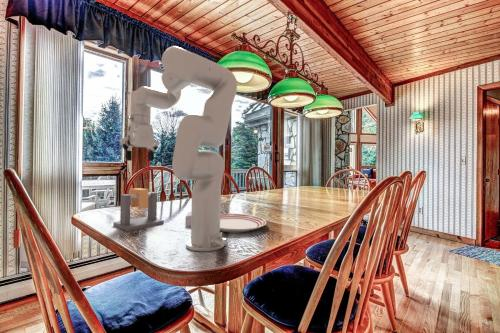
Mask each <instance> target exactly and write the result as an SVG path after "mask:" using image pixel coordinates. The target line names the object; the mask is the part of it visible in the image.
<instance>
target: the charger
mask: <svg viewBox="0 0 500 333" xmlns="http://www.w3.org/2000/svg"><path fill="white" fill-rule="evenodd" d="M191 212H192V211H189V212H187V214H186V215H185V224H184V225H185V227H191Z"/></svg>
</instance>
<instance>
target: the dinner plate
mask: <svg viewBox="0 0 500 333" xmlns="http://www.w3.org/2000/svg"><path fill="white" fill-rule="evenodd" d="M266 225H267V221H266V219H264V218H262V217H259V216H256V215H253V214H252V215H251V214H246V213H244V214H243V213H220V232H225V233H245V232H246V231H247V232H251V231H255V230H257V229H259V228H261V227H264V226H266ZM250 230H251V231H250Z"/></svg>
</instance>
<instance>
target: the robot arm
mask: <svg viewBox="0 0 500 333" xmlns="http://www.w3.org/2000/svg"><path fill="white" fill-rule="evenodd" d="M161 56H162V57H161V66H162V67H163V69H164V71H163V72H162V75H161V81H162V84H163V85H164V88H165V89H166V90H167V91H164V90H161V89H156V88H154V87H153V88H152V87H149V86H144V85H143V86H140V87H139V88H137V90H133V91H131V94H130V116H129V115H128V116H127V120H129V121H130V122H129V124H128V128H127V132H126V134H127V136H125V137H123V138H120V139H118V141H119V144H120V146H121V147H122V149H123V150H124V152H125V159H126V161H127V162H129V161H132V159H133V156H132V153H133V151H132V149H133V148H146V149H147V150H148V153H147V161H148V162H153V161H154V159H155V152H156V150H157V149H158V147H159V145H160V142H159V141H157V140H156V139H155V137H154V129H153V125H152V124H151V108H154V109H159V110H168V109H170V108H172V107H173V106H175V105H176V104H177V103H178V102H179V101H180V98H181V96H182V90H183V89H185V88H186V87H188V86H189V85H191V84H192V85H195V86H198V87H201V88H203V89H204V88H205V89H207V90H210V91H212V92H211V93H210V94H209V95H208V97H207V98H206V100H205V102H204V106H203V107H204V108H203V112H202V114H198V113H188V114H186V115H185V116H183V117H182V119H181V120H180V121H179V125H178V126H177V127H178V128H177V132H176V138H175V144H174V148H173V155H172V156H173V157H172V166H171V167H172V172H173V174H174V176H175V178H177V179H179V181H180V180H181V181H195V183H194V184H193V187H192V191H191V211H190V212H191V226H190V238H189V239H188V240H187V241H186V243H185V246H186V248H187V249H188V250H190V251H193V252H194V251H195V252H213V251H217V250H220V249H222V248H223V247H224V246H225V245H226V244H227V243H228V239H227V238H225V237H223V232H222V231H220V214H221V204H222V200H221V199H222V185H223V184H222V183H223V177H224V172H225V161H224V160H225V159H224V158H223V156H222V155H221V154H220V153H218V152H216V151H213V150H209V149H208V150H203V149H200V147H204V148H205V147H207V148H218V147H221V146H222V145H223V144H224V143H225V140H226V137H227V133H228V128H229V123H230V118H231V112H232V107H233V104H234V100H235V98H236V95H237V91H238V90H237V89H238V80H237V77H236V76H235V75H234V73H233V72H232V71H231V70H229V68H227V67H225V66H223V65H222V64H219V63H217V62H215V61H213V60H210V59H208V58H206V57H203V56H202V55H199V54H197V53H194V52H191V51H189V50H187V49H184V48H182V47H179V46H177V45H172V46H170V47H168V48H166V49H165V51H164V52H163V53H162V55H161Z"/></svg>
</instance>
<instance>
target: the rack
mask: <svg viewBox="0 0 500 333" xmlns="http://www.w3.org/2000/svg"><path fill="white" fill-rule="evenodd" d="M137 198H138V194H131V193H130V194H128V193H127V194H120V215H119V216H120V218H119V219H120V221H119V220H118V221H113V226H114V227H116V228H118V229H121V230H123V231H127V232H130V231H136V230H140V229H145V228H150V227H154V226H158V225H160V226H161V225H164V224H165V223H164V222H165V221H164V220H163V219H159V218H157V215H158V214H157V213H158V212H157V211H158V210H157V209H158V208H157V206H158V205H157V203H158V193H157V192H155V191H148V208H147V216H144V217H137V218H131V199H137Z"/></svg>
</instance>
